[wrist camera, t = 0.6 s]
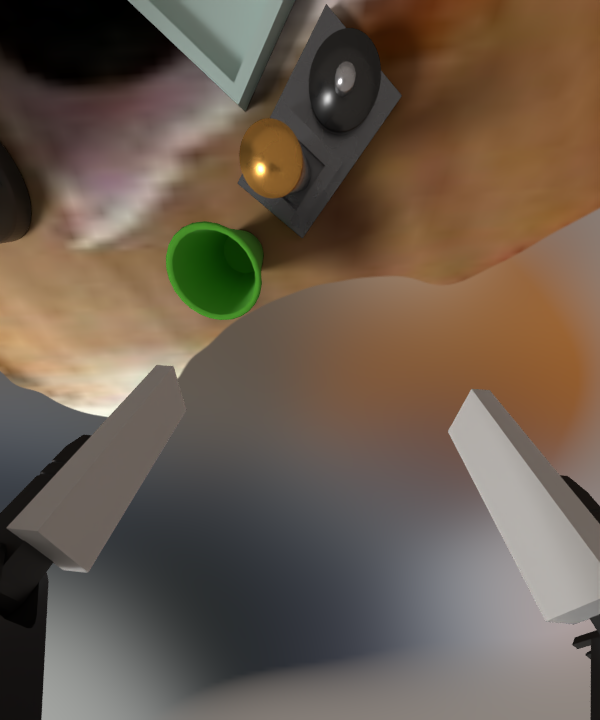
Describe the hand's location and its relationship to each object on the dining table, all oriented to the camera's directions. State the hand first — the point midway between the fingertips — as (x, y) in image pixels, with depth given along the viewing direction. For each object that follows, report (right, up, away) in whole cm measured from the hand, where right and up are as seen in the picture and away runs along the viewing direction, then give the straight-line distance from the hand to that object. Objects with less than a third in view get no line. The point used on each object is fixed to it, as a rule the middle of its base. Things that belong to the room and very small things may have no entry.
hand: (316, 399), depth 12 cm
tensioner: (0, +24, +15) cm, 28 cm away
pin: (-1, +22, +15) cm, 27 cm away
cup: (-8, +16, +21) cm, 28 cm away
